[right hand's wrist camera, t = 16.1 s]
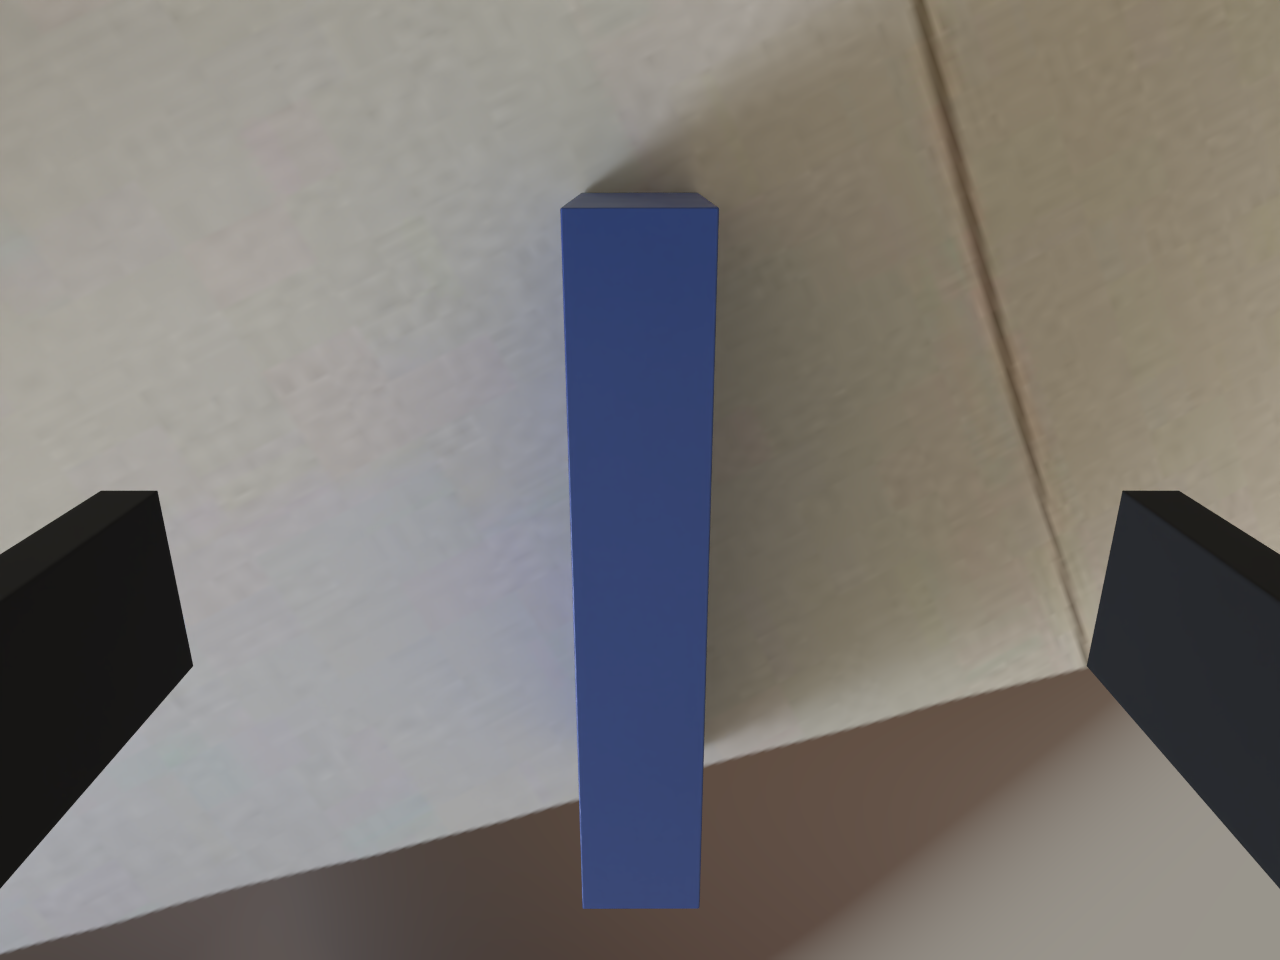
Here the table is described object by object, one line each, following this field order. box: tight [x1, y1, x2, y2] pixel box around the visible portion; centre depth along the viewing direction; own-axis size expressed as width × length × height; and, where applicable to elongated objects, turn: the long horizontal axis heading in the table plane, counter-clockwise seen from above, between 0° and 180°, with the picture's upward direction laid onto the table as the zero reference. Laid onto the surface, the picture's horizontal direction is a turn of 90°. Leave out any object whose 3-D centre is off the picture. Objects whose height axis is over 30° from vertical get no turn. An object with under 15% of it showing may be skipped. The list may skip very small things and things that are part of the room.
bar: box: [561, 193, 719, 909], centre depth 34 cm, size 26×4×9 cm, turn 0°
